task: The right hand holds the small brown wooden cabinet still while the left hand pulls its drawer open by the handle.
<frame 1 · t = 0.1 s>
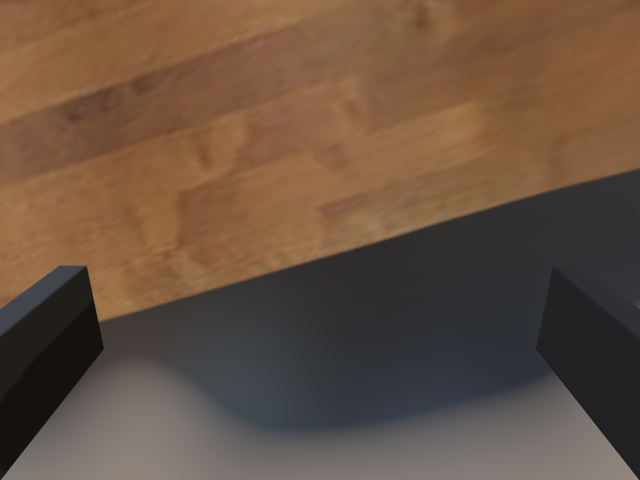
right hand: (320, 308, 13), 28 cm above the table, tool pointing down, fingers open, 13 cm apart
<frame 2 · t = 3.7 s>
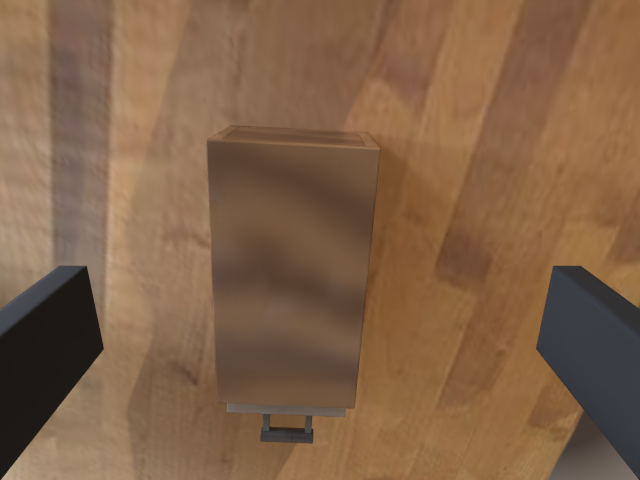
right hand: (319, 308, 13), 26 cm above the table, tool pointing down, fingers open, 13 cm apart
drawer: (290, 323, 38), point 4 cm above the table, slide at 0.6 cm
cabinet: (295, 249, 40), on the table
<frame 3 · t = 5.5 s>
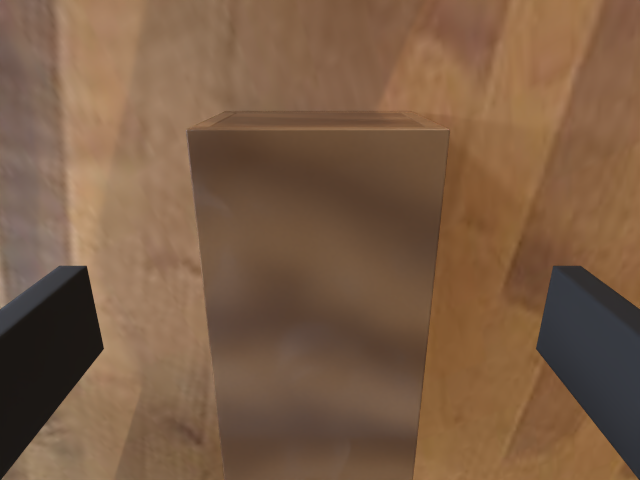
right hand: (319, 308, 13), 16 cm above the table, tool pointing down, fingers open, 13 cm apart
cabinet: (318, 271, 30), on the table
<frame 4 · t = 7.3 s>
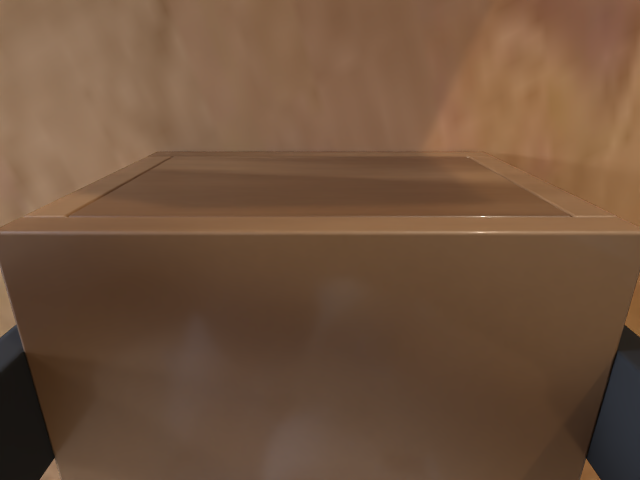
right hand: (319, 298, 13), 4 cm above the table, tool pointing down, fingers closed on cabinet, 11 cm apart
cabinet: (320, 400, 19), on the table, touching right hand
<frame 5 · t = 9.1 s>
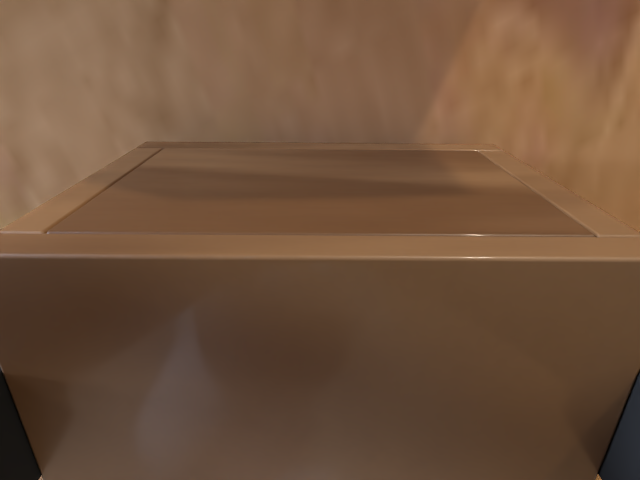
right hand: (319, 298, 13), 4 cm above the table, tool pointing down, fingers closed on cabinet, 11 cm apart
cabinet: (318, 393, 19), point 1 cm above the table, touching right hand
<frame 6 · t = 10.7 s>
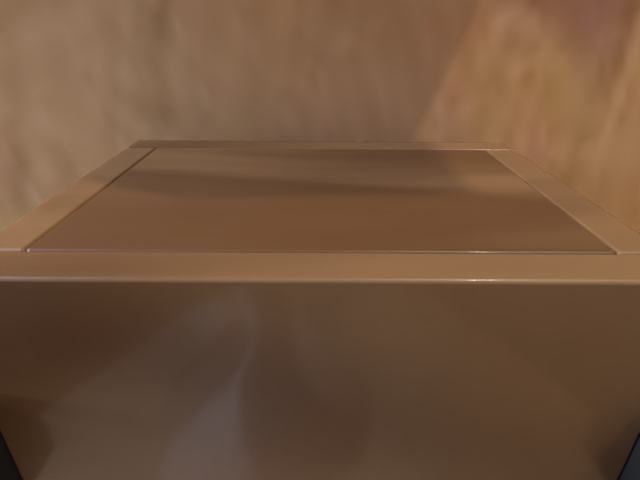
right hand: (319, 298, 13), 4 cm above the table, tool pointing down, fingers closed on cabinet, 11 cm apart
cabinet: (319, 394, 18), point 1 cm above the table, touching right hand
when the right hand's fingers open (4 cm above the table, at t = 12.6 s): cabinet stays where it is, on the table.
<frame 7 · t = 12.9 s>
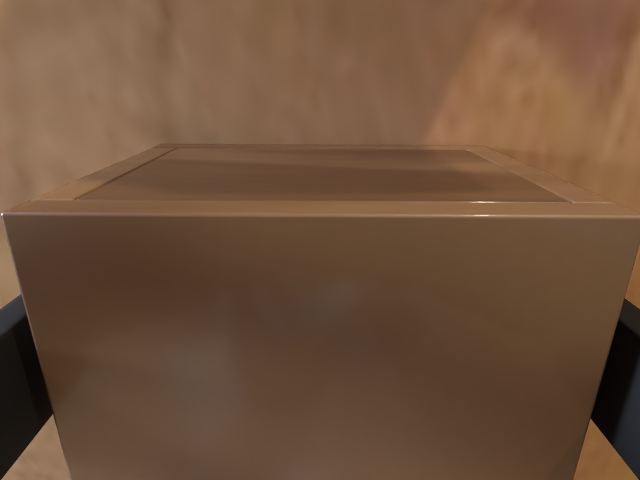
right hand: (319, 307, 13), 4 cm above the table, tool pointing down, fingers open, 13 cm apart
cabinet: (320, 393, 19), on the table
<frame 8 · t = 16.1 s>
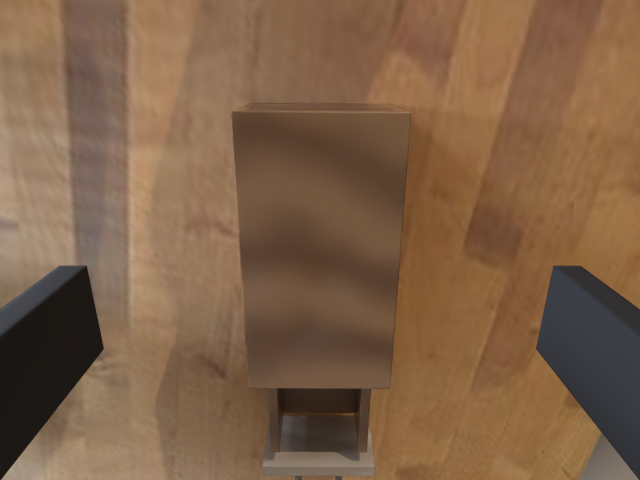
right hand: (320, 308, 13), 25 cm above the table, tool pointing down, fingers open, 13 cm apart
drawer: (319, 389, 40), point 4 cm above the table, slide at 9.3 cm
cabinet: (320, 229, 39), on the table
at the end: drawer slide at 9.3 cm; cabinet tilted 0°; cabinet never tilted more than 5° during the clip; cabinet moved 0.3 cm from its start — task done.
